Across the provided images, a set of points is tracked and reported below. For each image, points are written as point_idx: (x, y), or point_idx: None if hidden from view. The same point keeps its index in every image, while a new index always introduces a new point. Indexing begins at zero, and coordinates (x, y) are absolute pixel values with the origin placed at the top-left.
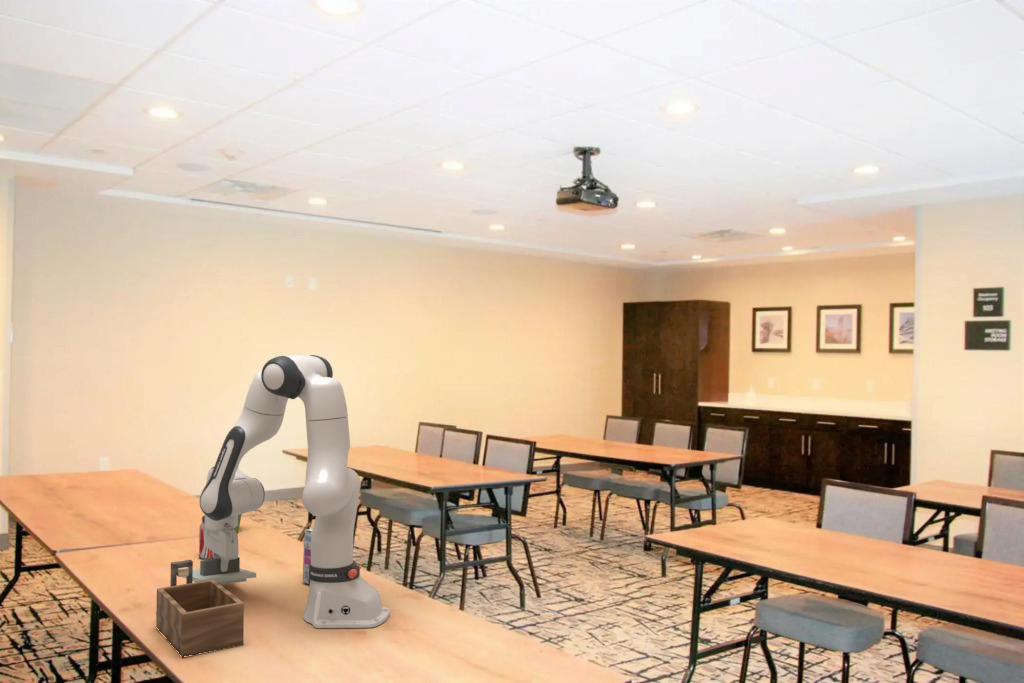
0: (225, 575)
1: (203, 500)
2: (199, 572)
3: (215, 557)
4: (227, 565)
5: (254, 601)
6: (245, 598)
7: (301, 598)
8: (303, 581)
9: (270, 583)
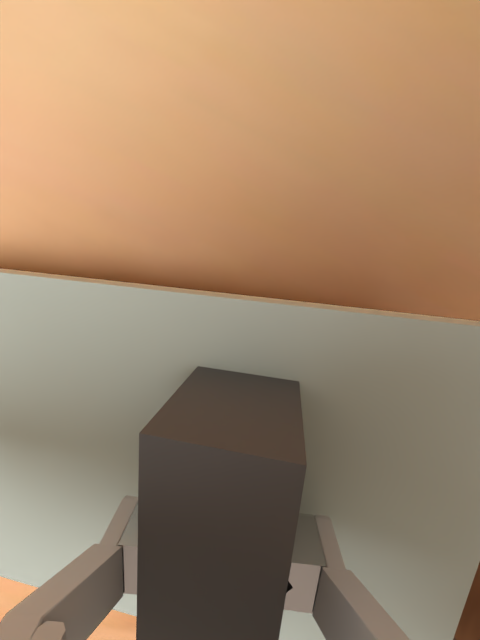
0: (394, 537)
1: None
2: (68, 530)
3: (90, 624)
4: (342, 561)
5: (429, 310)
6: None
7: None
8: None
9: (180, 79)
